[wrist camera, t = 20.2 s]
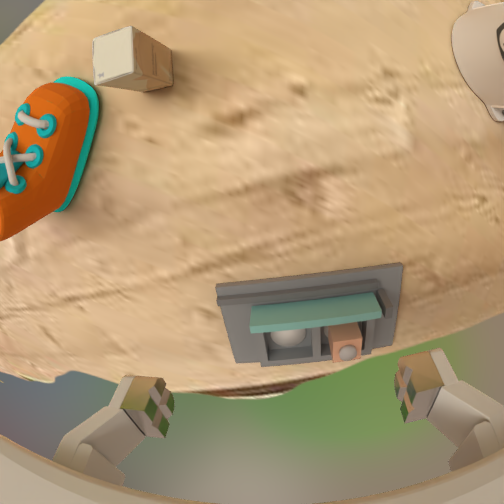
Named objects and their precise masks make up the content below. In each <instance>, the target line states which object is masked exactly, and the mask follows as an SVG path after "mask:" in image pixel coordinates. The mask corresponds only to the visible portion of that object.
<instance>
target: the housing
mask: <svg viewBox="0 0 504 504" xmlns="http://www.w3.org/2000/svg"><path fill="white" fill-rule="evenodd" d="M402 271H403V265H402V264H401V263H393V264H385V265H378V266H370V267H363V268H355V269H347V270H339V271H331V272H322V273H314V274H305V275H297V276H288V277H279V278H269V279H260V280H250V281H240V282H230V283H220V284H216V287H215V288H216V292H217V300H216V301H217V304H218V306H220V307H221V311H222V315H223V319H224V322H225V326H226V330H227V333H228V337H229V341H230V344H231V348H232V351H233V355H234V358H235V362H236V363H253V362H260V363H261V367H266V366H280V365H291V364H301V363H310V362H319V361H327V360H332V356H331V351H330V346H329V340H328V326H322V327H314V328H305V329H296V330H286V331H275V332H264V333H251V332H250V327H249V325H250V317H251V308H252V306H259V305H270V304H280V303H289V302H299V301H307V300H316V299H324V298H332V297H340V296H348V295H355V294H362V293H369V292H373V293H374V295H375V297H376V299H377V301H378V304H379V306H380V308H381V310H382V314H381V318H378V319H372V320H366V321H359V322H357V323H358V326H359V329H360V332H361V335H362V348H361V356H362V355H368V354H371V350H372V349H374V348H380V347H385V346H390V345H392V343H393V337H394V331H395V325H396V319H397V312H398V305H399V298H400V289H401V280H402Z"/></svg>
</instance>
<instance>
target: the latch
mask: <svg viewBox="0 0 504 504" xmlns="http://www.w3.org/2000/svg"><path fill="white" fill-rule="evenodd" d="M381 314H382V310H381V308H380V306H379V304H378V301H377V299H376V297H375V295H374V293H373V292H369V293H362V294H355V295H348V296H340V297H332V298H324V299H316V300H307V301H299V302H289V303H280V304H270V305H259V306H252V308H251V317H250V325H249V327H250V332H251V333H264V332H275V331H286V330H296V329H305V328H314V327H322V326H330V325H338V324H345V323H352V322H359V321H366V320H372V319H378V318H381Z"/></svg>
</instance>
